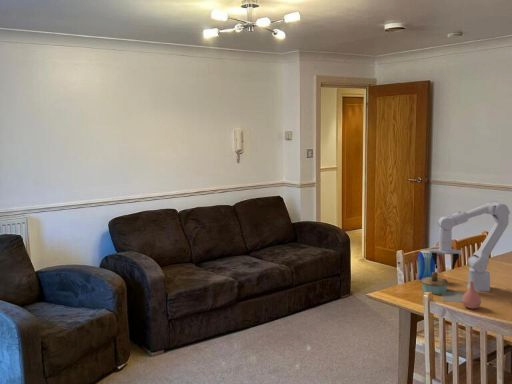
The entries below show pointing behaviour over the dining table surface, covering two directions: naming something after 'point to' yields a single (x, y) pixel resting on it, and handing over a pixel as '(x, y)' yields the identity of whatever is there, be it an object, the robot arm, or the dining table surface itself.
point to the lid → (434, 280)
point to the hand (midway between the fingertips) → (444, 268)
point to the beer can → (425, 265)
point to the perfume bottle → (471, 298)
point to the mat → (453, 296)
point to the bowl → (434, 289)
